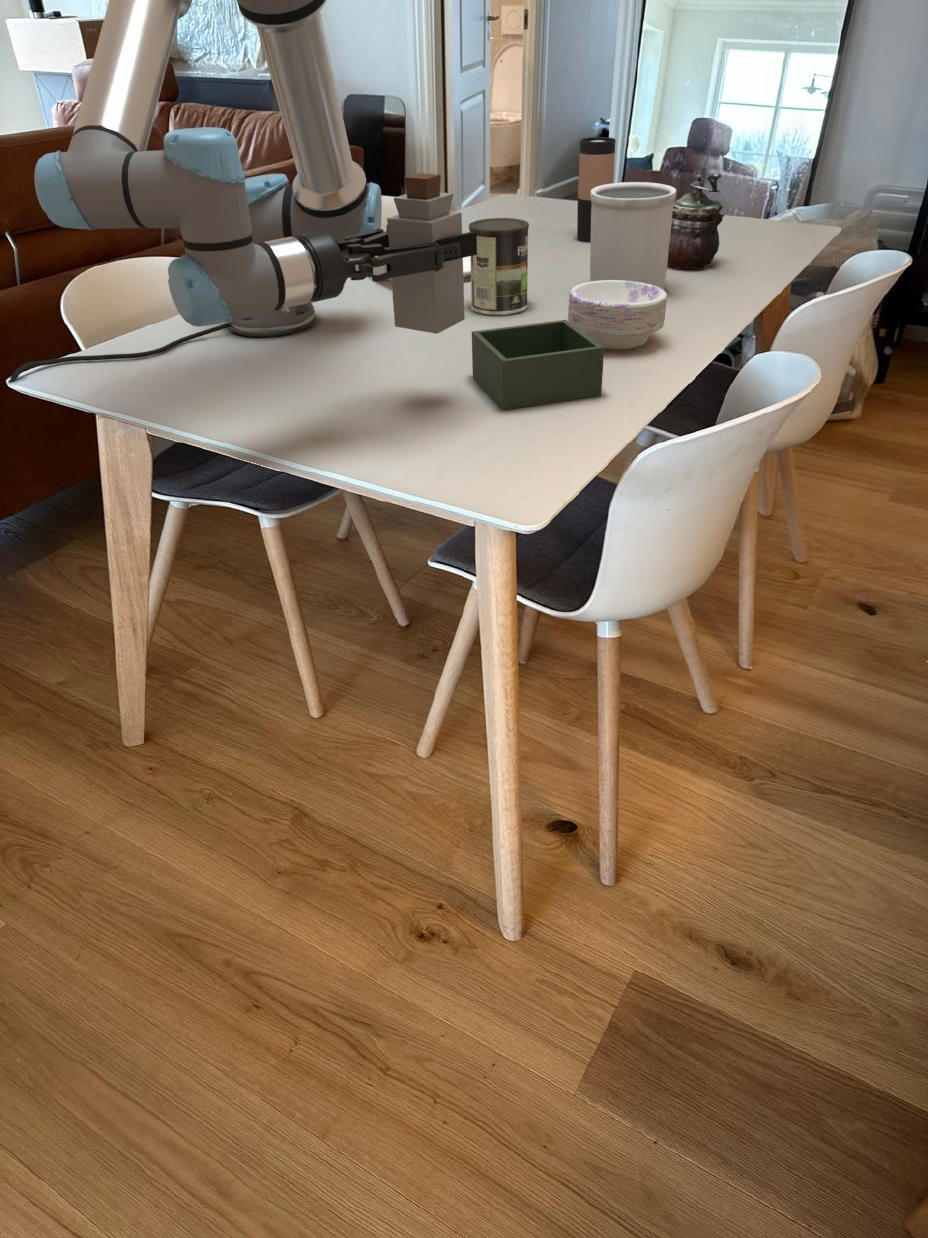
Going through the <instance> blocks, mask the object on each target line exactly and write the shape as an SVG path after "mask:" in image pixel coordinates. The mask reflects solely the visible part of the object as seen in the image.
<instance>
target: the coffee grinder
mask: <svg viewBox="0 0 928 1238" xmlns="http://www.w3.org/2000/svg"><path fill="white" fill-rule="evenodd" d="M720 178H722V174H720V173H711V174H710V175H708V176H707V178H706V180H707V181H708V182H709V184H710V186H711V188H708V187H704V186H703V182H702V181H703V176H702V174H695V175H694V181H693V182H692V183H690V186H691V187H693V190H692V191H690V192H688V193H686V194H683V196H681V198H678V199H676V198H675V200H674V202H673V213H672V223H671V233H670V242H669V252H668V262H667V267H676V268H679V269H682V270H686V269H700V270H702V269H705V267H706V266H708V265H711V263H712V261H713V260H714V258H715V256H716V254H717V253H718V251H719V249H720V248H719V247H720V234H719V229H718V226H719V225H720V224H721V223H722V221H723V220H724V219H723V218H725V213H722V214H721V213H720V211H721V210H722V209H723V205H722V204H721V203H722V202H720V201H719V200H717V199H712V198H709V197H708V196H707V194H705V193H704V192H703V191H704V190H705V191H707V192H708V193H721V191H720V190H718V181H719V180H720Z"/></svg>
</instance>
